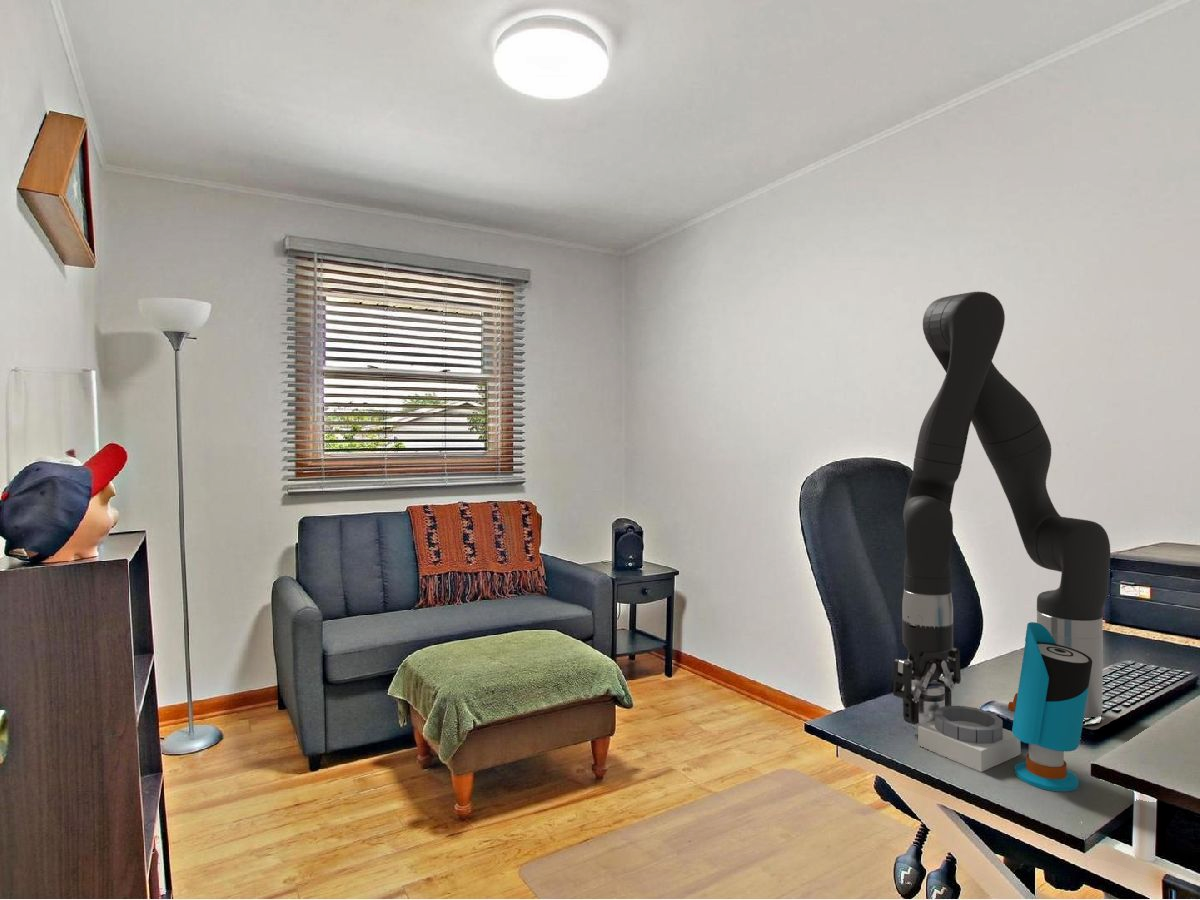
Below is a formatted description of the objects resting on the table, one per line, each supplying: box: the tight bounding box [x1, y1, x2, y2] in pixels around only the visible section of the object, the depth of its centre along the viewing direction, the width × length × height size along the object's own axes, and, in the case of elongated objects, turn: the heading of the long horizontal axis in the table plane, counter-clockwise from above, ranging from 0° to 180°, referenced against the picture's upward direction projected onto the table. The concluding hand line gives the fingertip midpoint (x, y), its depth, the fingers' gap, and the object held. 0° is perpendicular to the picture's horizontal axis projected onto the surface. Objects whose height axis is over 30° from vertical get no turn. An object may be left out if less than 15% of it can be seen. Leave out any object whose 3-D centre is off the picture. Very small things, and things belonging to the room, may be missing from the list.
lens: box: [910, 679, 945, 731], centre depth 116 cm, size 5×5×7 cm
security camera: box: [1007, 621, 1092, 792], centre depth 99 cm, size 8×21×10 cm
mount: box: [917, 705, 1021, 773], centre depth 108 cm, size 10×10×5 cm
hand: (927, 716), depth 116 cm, fingers open, 8 cm apart
